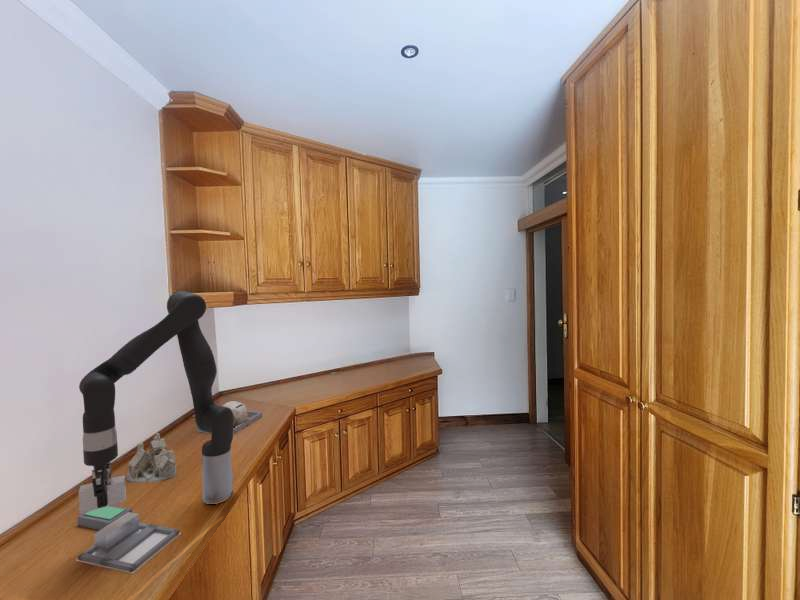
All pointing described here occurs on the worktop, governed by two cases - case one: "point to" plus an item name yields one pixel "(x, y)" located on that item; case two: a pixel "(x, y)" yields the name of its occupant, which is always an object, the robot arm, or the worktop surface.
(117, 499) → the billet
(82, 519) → the box
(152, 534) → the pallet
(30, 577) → the worktop surface
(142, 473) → the ceramic cottage
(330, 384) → the worktop surface
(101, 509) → the button
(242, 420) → the coin bank
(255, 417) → the coin bank tray
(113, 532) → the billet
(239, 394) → the worktop surface
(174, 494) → the worktop surface
